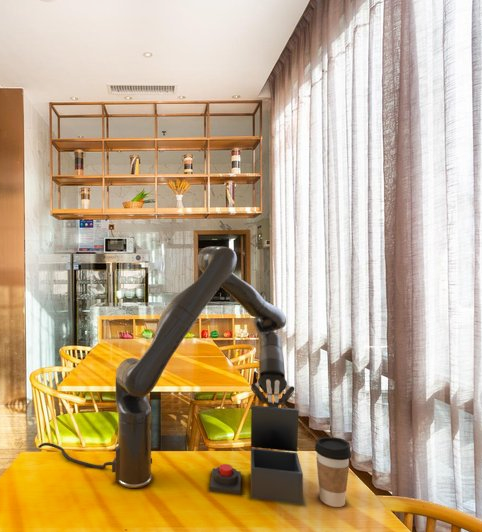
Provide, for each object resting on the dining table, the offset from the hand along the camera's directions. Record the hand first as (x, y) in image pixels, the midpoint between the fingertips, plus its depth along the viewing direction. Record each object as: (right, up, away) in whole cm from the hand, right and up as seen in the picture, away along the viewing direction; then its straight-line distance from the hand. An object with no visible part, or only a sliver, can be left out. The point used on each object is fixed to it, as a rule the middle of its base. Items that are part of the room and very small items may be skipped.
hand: (273, 417), depth 112 cm
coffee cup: (+12, -17, -11) cm, 24 cm away
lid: (0, -3, -1) cm, 3 cm away
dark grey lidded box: (-1, -17, -6) cm, 18 cm away
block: (-14, -17, -3) cm, 22 cm away
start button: (-14, -14, -3) cm, 20 cm away
